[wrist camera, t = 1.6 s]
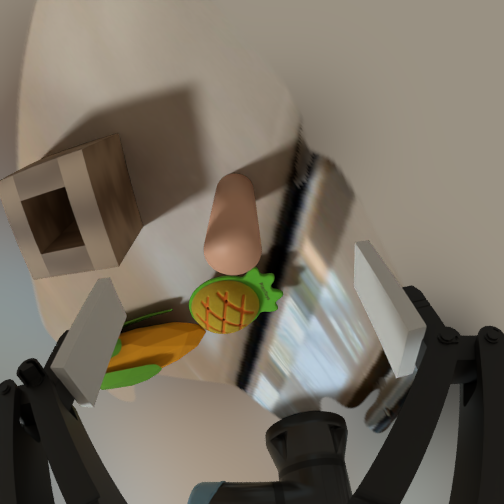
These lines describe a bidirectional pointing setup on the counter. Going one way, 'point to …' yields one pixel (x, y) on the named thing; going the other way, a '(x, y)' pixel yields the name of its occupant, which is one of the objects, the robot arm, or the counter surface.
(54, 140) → the counter surface
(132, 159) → the counter surface
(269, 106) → the counter surface
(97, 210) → the socket block
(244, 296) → the toy pineapple
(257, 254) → the peg
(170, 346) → the corn
